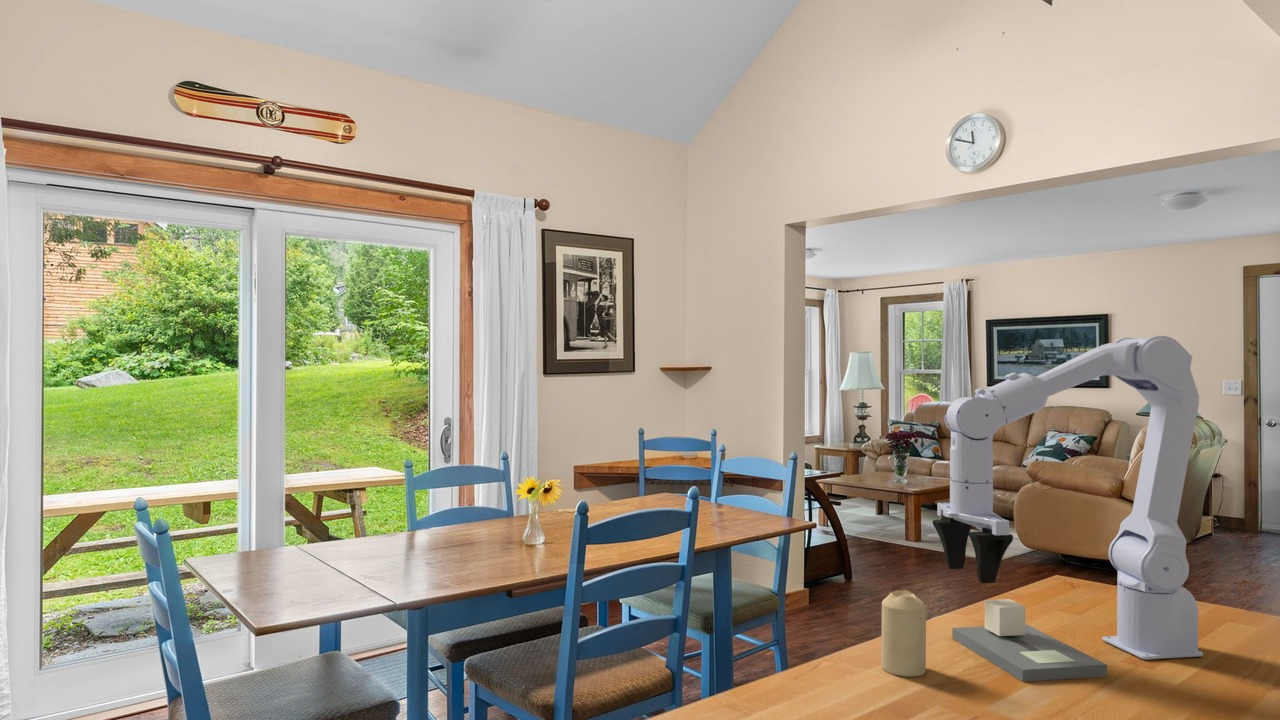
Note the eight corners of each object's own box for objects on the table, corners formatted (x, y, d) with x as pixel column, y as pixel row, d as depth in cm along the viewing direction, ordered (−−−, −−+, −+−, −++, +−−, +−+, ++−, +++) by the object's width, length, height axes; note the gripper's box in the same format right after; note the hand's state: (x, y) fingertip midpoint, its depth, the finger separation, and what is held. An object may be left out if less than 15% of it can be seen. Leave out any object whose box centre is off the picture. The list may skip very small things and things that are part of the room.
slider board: (1026, 634, 118) (1026, 623, 118) (1107, 676, 102) (1107, 663, 102) (952, 638, 116) (952, 627, 116) (1022, 681, 100) (1022, 668, 100)
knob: (1009, 626, 115) (1009, 599, 115) (1025, 634, 112) (1025, 606, 112) (984, 627, 115) (984, 600, 115) (999, 636, 111) (999, 607, 111)
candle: (928, 679, 101) (929, 600, 101) (883, 675, 102) (884, 597, 102) (922, 663, 106) (922, 588, 106) (879, 659, 107) (879, 585, 107)
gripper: (919, 474, 121) (918, 563, 121) (976, 489, 106) (975, 590, 106) (961, 473, 122) (961, 562, 122) (1023, 488, 108) (1022, 588, 108)
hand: (970, 575), depth 114 cm, fingers open, 7 cm apart
